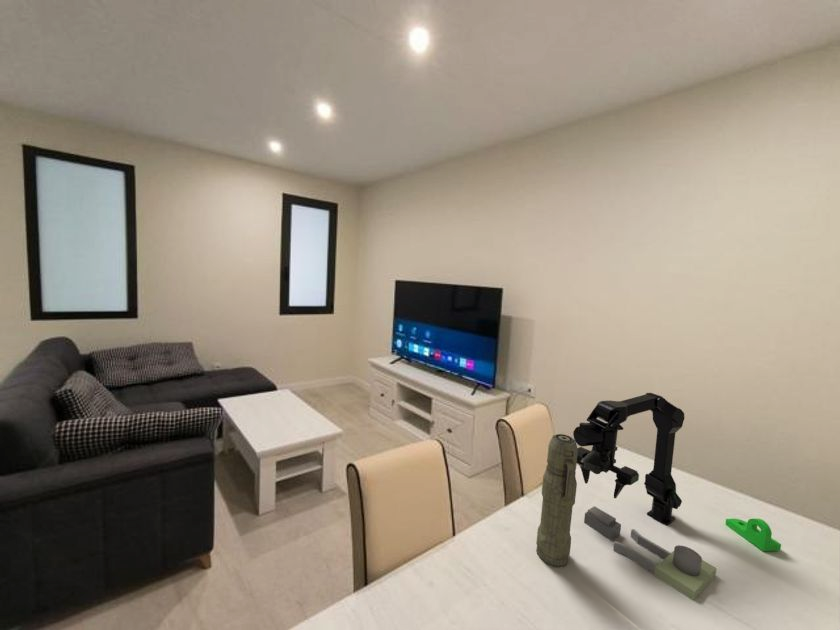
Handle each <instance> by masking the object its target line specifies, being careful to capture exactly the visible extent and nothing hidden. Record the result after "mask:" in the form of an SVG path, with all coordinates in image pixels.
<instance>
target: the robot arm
mask: <svg viewBox="0 0 840 630" xmlns="http://www.w3.org/2000/svg"><path fill="white" fill-rule="evenodd" d="M648 411H651V412H652V421H653V423H654V426H655V427H656V437H655V438H656V439H655V449H654V459H653V469H652V470H651V471H650V472H649V473H646V474H645V475H644V478H645V481H644V483H643V485H644V486H645V487H644V488H645V491H646V494H647V495H649V496H650V497H652V504H651V509H650V510H649V511H648V512H646V515H647V516H648V517H650V518H652V519H654V520H656V521H658V522H660V523H662V524H664V525H666V526H669V525H670V524H671V523H673V522H674V521H675V520H676V517H675V516H672V515H673V509H675V510H678V509H679V508H680V507H681V506H682V505H681V504H682V502H683V500H682V498H681V497H680V496H679V495H678V493H677V484H676V481H675V479H674V478H673V475H672V470H673V469H672V468H673V457H674V451H675V450H674V449H675V442H676V441H675V440H676V433H677V432H678V431H680V430H681V429H682V427H683V424H684V420H685V412H684V411H683V410H682V409H681V408H679V407H677V406H675V405H673V404H672V403H671V402H669V401H668V400H667V399H666V398H665V397H663V396H661V395H659V394H656V393H653V392H646V393H645V394H642V395H638V396H635V397H632V398H628V399H623V400H620V401H619V400H601V401H599V402H597V404H596V406H595V407H594V408H593V409H592V411H591V413H590V414H589V416H588V417H587V418H586V422H580V423H579V426H576V427H575V428H574V430H573V432H572V434H573V439H574V440H575V441H576V445H577V446H579V447H577V449H578V455H577V464H576V465H577V466H579V467H580V470H581V473H582V477H583V478H582V479H583V481H584V484H586V485H587V484H588V483H589V479H590V475H591V474H590V472H592V473H593V474H595V475H600V474H601V473H602V472H603V473H606V474H607V473H608V472H609V471H610V472H612V473H614V474H616V475H615V478H616V479H614V482H615V486H614V492H613V499H617V498H618V496H619V495H620V493H621V492H622V490H623V489H624V487H625V486H632V485H633V484H635V483H636V482H638V481H639V478H640V475H639V472H638V471H637V470H636V469H633V468H631V467H628V466H626V465H624V466H623V467H618V466H616V465H615V464H617V459H615V456H616V452H617V451H618V448H619V447H618V446H617V441H618V440H617V439H618V432H619V431H623V430H624V427H623V426H622V425H621V424H623V423H624V422H626V421H627V419H628V417H631V416H634V415H637V414H641V413H644V412H648ZM590 446H591V450H590V449H587V448H586V447H590ZM584 447H585V448H584Z"/></svg>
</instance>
